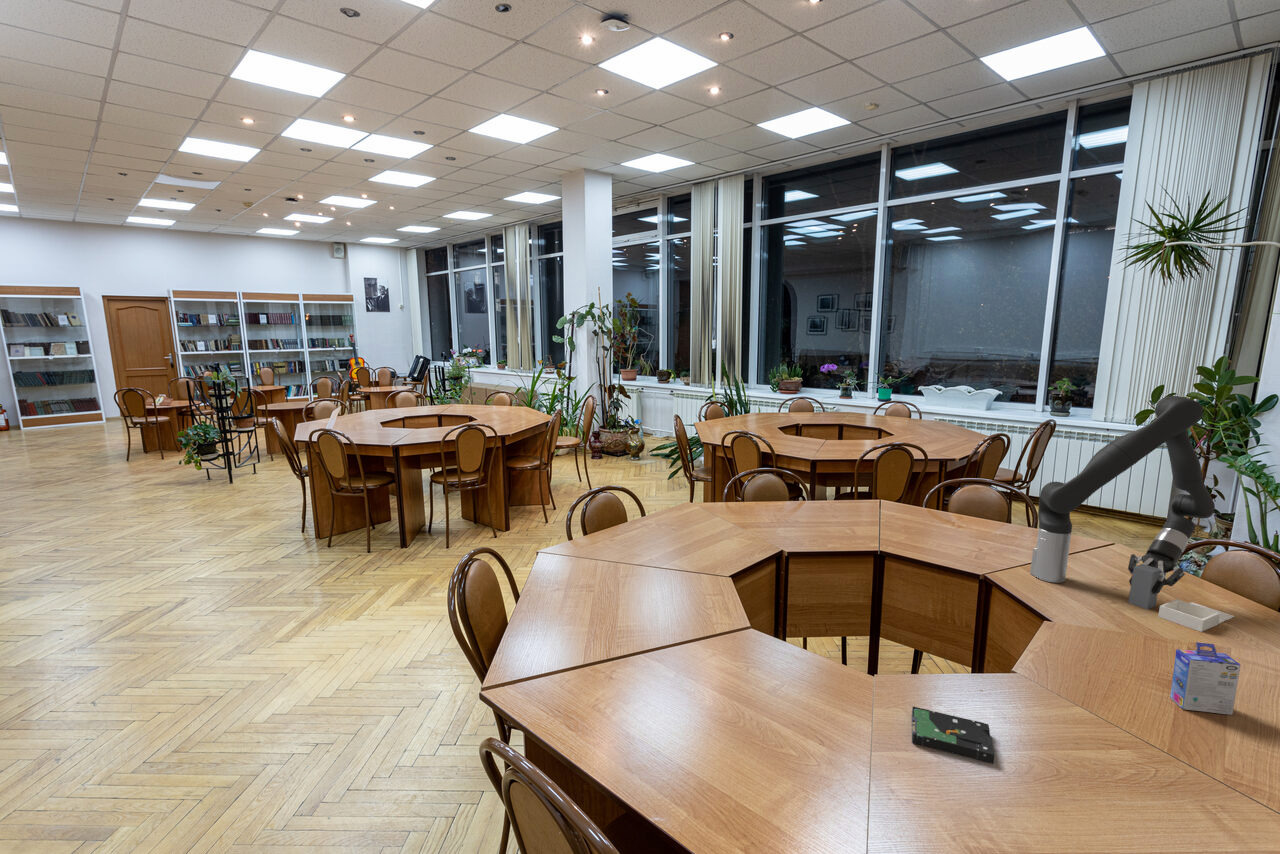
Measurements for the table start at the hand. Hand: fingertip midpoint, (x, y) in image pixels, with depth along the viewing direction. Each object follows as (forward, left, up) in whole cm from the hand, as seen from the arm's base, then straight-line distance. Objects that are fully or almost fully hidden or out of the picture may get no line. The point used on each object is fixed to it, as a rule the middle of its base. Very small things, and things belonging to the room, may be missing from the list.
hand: (1142, 589), depth 188 cm
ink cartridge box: (+33, -48, -6) cm, 58 cm away
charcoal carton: (0, +1, -5) cm, 5 cm away
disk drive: (+15, -109, -6) cm, 111 cm away
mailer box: (+11, +6, -5) cm, 14 cm away
